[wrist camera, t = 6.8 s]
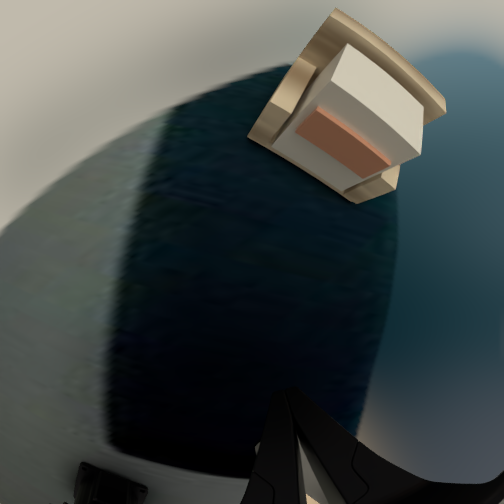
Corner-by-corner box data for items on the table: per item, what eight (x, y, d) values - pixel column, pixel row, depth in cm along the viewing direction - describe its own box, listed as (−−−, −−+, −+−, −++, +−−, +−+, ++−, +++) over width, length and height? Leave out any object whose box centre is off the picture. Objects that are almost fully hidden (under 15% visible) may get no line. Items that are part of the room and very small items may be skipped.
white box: (340, 195, 22) (420, 159, 13) (269, 150, 20) (328, 84, 12) (354, 149, 23) (423, 107, 14) (292, 106, 21) (347, 43, 13)
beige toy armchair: (349, 206, 24) (446, 171, 13) (244, 141, 21) (304, 52, 11) (368, 141, 25) (444, 95, 15) (280, 81, 23) (336, 5, 12)
